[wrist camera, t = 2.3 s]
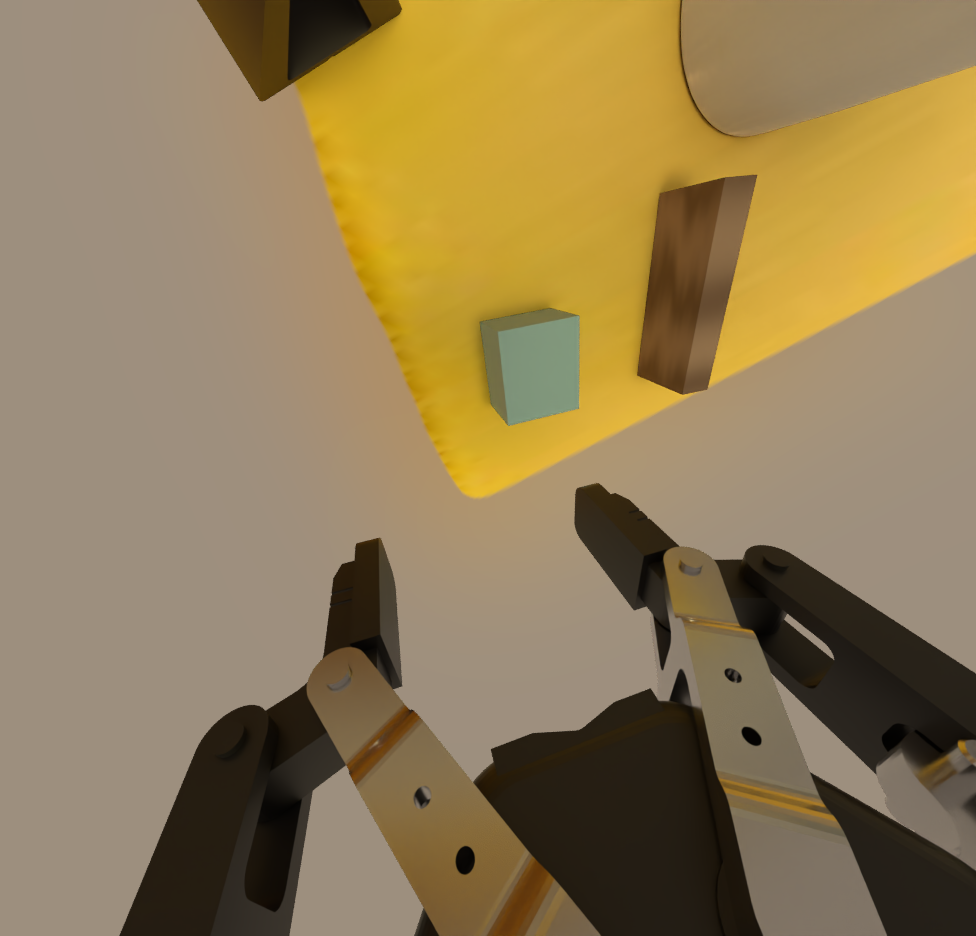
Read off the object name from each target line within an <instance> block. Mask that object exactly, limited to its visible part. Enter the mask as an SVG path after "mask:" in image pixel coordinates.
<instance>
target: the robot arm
mask: <svg viewBox="0 0 976 936" xmlns="http://www.w3.org/2000/svg"><path fill="white" fill-rule="evenodd" d="M575 528H576V531H577V534H578V536H579V538H580V539H581V540H582V542H583V543H584V544H585V546H586V547H587V548H588V550H589V551H590V552H591V554H592V555H593V556H594V558H595V559H596V560H597V562H598V563H599V564H600V566H601V567H602V568H603V570H604V571H605V572H606V574H607V575H608V576H609V578H610V579H611V580H612V582H613V583H614V584H615V586H616V587H617V588H618V590H619V591H620V592H621V594H622V595H623V596H624V598H625V599H626V600H627V602H628V603H629V604H630V606H631V607H632V608H633V610H637V609H640V608H643V607H646V606H647V607H648V609H649V610H650V611H651V617H650V622H651V630H652V637H653V646H654V653H655V661H656V668H657V677H658V690H657V698H656V696H655V695H654V693H653V691H652V690H651V689H648V690H645V691H642V692H640V693H638V694H635V695H632V696H629V697H627V698H624V699H621V700H619V701H616V702H614V703H613V704H611V705H610V706H609V707H608V708H606V709H605V710H604V711H603V712H602V713H600V714H599V715H598V716H597V717H596V718H594V719H593V720H592V721H591V722H590V723H588V724H587V725H586V726H585V727H583V728H582V729H580V730H577V731H562V732H545V733H532V734H529V735H527V736H524V737H522V738H519V739H516V740H514V741H511V742H509V743H506V744H503V745H501V746H498V747H495V748H493V749H491V752H492V757H493V761H494V762H493V763H492V764H491V765H489V766H488V767H487V768H486V769H485V770H484V771H483V772H482V773H481V774H480V775H479V776H478V777H477V778H476V779H475V780H474V782H472V781H471V780H470V778H469V777H468V776H467V774H466V773H465V772H464V771H463V770H462V768H461V767H460V766H459V765H458V763H457V762H456V761H455V760H454V758H453V757H452V756H451V755H450V753H449V752H448V751H447V750H446V748H445V747H444V746H443V745H442V743H441V742H440V741H439V740H438V739H437V737H436V736H435V735H434V734H433V732H432V731H431V730H430V729H429V727H428V726H427V725H426V724H425V722H424V721H423V720H422V719H421V718H420V716H418V714H417V713H416V712H415V711H413V710H409V709H408V708H407V706H406V705H405V704H404V703H403V702H402V700H401V699H400V698H399V696H398V695H397V694H396V693H395V691H394V690H393V689H395V688H398V687H401V686H402V676H401V661H400V646H399V632H398V617H397V603H396V588H395V582H394V577H393V573H392V569H391V566H390V563H389V561H388V558H387V555H386V552H385V549H384V546H383V543H382V540H381V538H376V539H373V540H368V541H364V542H360V543H357V544H356V548H355V561H352V562H348V563H345V564H342V565H341V567H340V568H339V570H338V572H337V573H336V575H335V577H334V578H333V587H332V596H331V603H330V606H331V608H330V609H329V618H328V625H327V633H326V641H325V649H324V655H323V659H322V660H321V661H320V662H319V663H318V664H317V665H316V667H315V668H314V669H313V671H312V673H311V674H310V677H309V679H308V682H307V683H306V684H305V685H304V686H303V687H302V688H300V689H299V690H298V691H296V692H295V693H293V694H292V695H290V696H288V697H287V698H285V699H284V700H282V701H280V702H279V703H277V704H276V705H274V706H273V707H271V708H269V709H268V710H266V711H265V710H264V709H263V708H261V707H260V706H256V705H247V706H243V707H240V708H237V709H235V710H233V711H231V712H230V713H228V714H226V715H225V716H224V717H222V718H221V719H220V720H219V721H218V722H217V723H215V724H214V725H213V726H212V727H211V729H210V730H209V731H208V732H207V733H206V735H205V736H204V737H203V739H202V740H201V742H200V744H199V745H198V747H197V749H196V752H195V754H194V756H193V759H192V761H191V764H190V766H189V769H188V771H187V773H186V776H185V778H184V781H183V783H182V786H181V788H180V790H179V793H178V795H177V798H176V800H175V802H174V805H173V807H172V810H171V812H170V815H169V817H168V819H167V822H166V824H165V827H164V829H163V831H162V834H161V836H160V839H159V841H158V844H157V846H156V849H155V851H154V853H153V856H152V858H151V861H150V863H149V865H148V868H147V870H146V873H145V875H144V878H143V880H142V883H141V885H140V887H139V890H138V892H137V895H136V897H135V899H134V902H133V904H132V907H131V909H130V911H129V914H128V916H127V919H126V922H125V924H124V926H123V929H122V931H121V933H120V936H289V933H290V928H291V922H292V916H293V909H294V903H295V897H296V891H297V885H298V878H299V872H300V865H301V860H302V854H303V847H304V841H305V835H306V829H307V822H308V816H309V810H310V804H311V798H312V791H313V790H314V789H315V788H316V787H318V786H319V785H320V784H322V783H323V782H324V781H326V780H327V779H328V778H330V777H331V776H332V775H333V774H335V773H336V772H338V771H339V770H340V769H341V768H343V767H344V766H345V765H346V766H347V768H348V769H349V772H350V773H349V774H350V776H351V778H352V780H353V782H354V784H355V786H356V788H357V790H358V791H359V793H360V795H361V797H362V799H363V800H364V802H365V804H366V806H367V807H368V809H369V811H370V813H371V815H372V816H373V818H374V820H375V822H376V823H377V825H378V827H379V829H380V830H381V832H382V834H383V836H384V838H385V840H386V841H387V843H388V845H389V847H390V848H391V850H392V852H393V854H394V856H395V857H396V859H397V861H398V863H399V864H400V866H401V868H402V869H403V871H404V873H405V875H406V877H407V879H408V881H409V882H410V884H411V886H412V888H413V890H414V891H415V893H416V895H417V897H418V899H419V900H420V902H421V904H422V905H423V907H424V908H423V911H422V914H421V917H420V920H419V923H418V926H417V929H416V932H415V935H414V936H976V674H975V673H974V672H973V671H971V670H969V669H968V668H966V667H965V666H963V665H962V664H960V663H959V662H957V661H956V660H954V659H952V658H951V657H949V656H948V655H946V654H945V653H943V652H942V651H940V650H939V649H937V648H936V647H934V646H932V645H931V644H929V643H928V642H926V641H925V640H923V639H922V638H920V637H919V636H917V635H916V634H914V633H912V632H911V631H909V630H908V629H906V628H905V627H903V626H901V625H900V624H899V623H897V622H895V621H894V620H892V619H891V618H889V617H888V616H886V615H885V614H883V613H882V612H880V611H878V610H877V609H876V608H874V607H872V606H871V605H869V604H868V603H866V602H865V601H863V600H862V599H860V598H859V597H857V596H856V595H854V594H852V593H851V592H849V591H848V590H846V589H845V588H843V587H842V586H840V585H839V584H837V583H835V582H834V581H832V580H831V579H829V578H828V577H826V576H825V575H823V574H822V573H820V572H819V571H817V570H815V569H814V568H812V567H810V566H809V565H808V564H806V563H805V562H803V561H802V560H800V559H799V558H797V557H795V556H794V555H792V554H791V553H789V552H786V551H785V550H782V549H779V548H776V547H772V546H766V545H758V546H753V547H750V548H749V549H747V551H746V552H745V555H744V558H743V560H713V559H712V558H711V557H710V556H709V555H707V554H705V553H704V552H701V551H700V550H697V549H694V548H690V547H680V546H679V545H677V544H676V543H675V542H674V541H673V540H672V539H671V538H670V537H669V536H668V535H667V534H666V533H664V532H663V531H662V530H661V529H660V528H659V527H658V526H657V525H656V524H655V523H654V522H652V520H650V519H648V518H647V516H646V515H645V514H644V513H643V512H642V511H639V508H637V507H636V506H635V505H634V504H633V503H632V502H631V501H630V500H629V499H626V498H624V497H622V496H620V495H618V494H616V493H614V494H610V493H609V492H608V491H607V490H606V489H605V488H604V487H602V485H600V484H599V483H596V484H591V485H588V486H584V487H580V488H577V490H576V494H575ZM787 614H789V615H790V616H791V617H793V618H794V619H795V620H796V621H798V622H799V623H800V624H801V625H803V626H804V627H805V628H806V629H808V630H809V631H810V632H811V633H813V634H814V635H815V636H816V637H818V638H819V639H820V640H822V641H823V642H824V643H825V644H826V645H827V646H828V647H829V649H830V650H831V651H832V653H833V655H834V660H833V659H832V658H830V657H829V656H828V655H827V654H826V653H824V652H823V651H822V650H821V649H819V648H818V647H817V646H816V645H814V644H813V643H812V642H811V641H810V640H808V639H807V638H806V637H805V636H803V635H802V634H801V633H799V632H798V631H797V630H796V629H795V628H794V627H792V626H791V625H790V624H789V623H787V622H786V621H785V620H784V618H785V617H786V615H787ZM771 673H772V674H773V675H774V676H775V677H776V678H777V679H778V680H779V681H780V682H781V683H782V684H783V685H784V686H785V687H786V688H787V689H788V690H789V691H790V692H791V693H792V694H793V695H795V697H796V698H798V699H799V700H800V701H801V702H802V703H803V704H804V705H805V706H806V707H807V708H808V709H809V710H810V711H811V712H812V713H813V714H814V715H815V716H816V717H817V718H818V719H819V720H820V721H821V722H822V723H823V724H825V725H826V726H827V727H828V728H829V729H830V730H831V731H832V732H833V733H834V734H835V735H836V736H837V737H838V738H839V739H840V740H841V741H842V742H843V743H844V744H845V745H846V746H848V748H849V749H850V750H852V751H853V752H854V753H855V754H856V755H857V756H858V757H859V758H860V759H861V760H862V761H863V762H864V763H865V764H866V765H867V766H868V767H869V768H870V769H871V770H872V771H873V772H874V773H875V774H876V775H877V777H878V781H879V783H880V785H881V787H882V789H883V791H884V793H885V794H886V797H885V803H886V806H887V808H888V809H889V811H890V813H891V814H892V815H893V816H894V817H895V818H896V819H897V820H898V821H899V822H900V823H902V824H903V825H904V826H906V827H908V828H910V829H912V830H914V831H915V832H913V831H911V830H910V829H908V828H906V827H904V826H903V825H901V824H899V823H898V822H896V821H894V820H892V819H890V818H889V817H887V816H885V815H884V814H882V813H880V812H878V811H877V810H875V809H873V808H872V807H870V806H868V805H866V804H864V803H863V802H861V801H859V800H858V799H856V798H854V797H852V796H851V795H849V794H847V793H845V792H843V791H842V790H840V789H838V788H837V787H835V786H833V785H832V784H830V783H828V782H826V781H825V780H823V779H821V778H819V777H818V776H816V775H814V774H812V773H811V772H810V771H809V769H808V766H807V764H806V761H805V759H804V756H803V754H802V751H801V749H800V746H799V743H798V741H797V738H796V736H795V733H794V731H793V728H792V726H791V723H790V721H789V718H788V715H787V713H786V710H785V708H784V705H783V703H782V700H781V697H780V695H779V693H778V690H777V688H776V685H775V682H774V680H773V677H772V675H771Z"/></svg>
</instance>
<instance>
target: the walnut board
mask: <svg viewBox="0 0 976 936" xmlns="http://www.w3.org/2000/svg"><path fill="white" fill-rule="evenodd" d="M756 178H757V175H748V176H737V177H725V178H721V179H717V180H713V181H709V182H704V183H700V184H696V185H692V186H688V187H684V188H680V189H676V190H671V191H667V192H663V193H660V197H659V205H658V213H657V221H656V229H655V237H654V245H653V253H652V261H651V269H650V277H649V285H648V293H647V302H646V310H645V318H644V326H643V334H642V342H641V350H640V358H639V366H638V374H637V375H638V376H640V377H642V378H645V379H647V380H649V381H652V382H654V383H656V384H659V385H661V386H663V387H666V388H668V389H670V390H673V391H675V392H677V393H680V394H682V395H684V394H688V393H693V392H698V391H703V390H707V388H708V384H709V380H710V376H711V371H712V367H713V363H714V358H715V354H716V350H717V346H718V341H719V337H720V333H721V328H722V324H723V320H724V315H725V311H726V307H727V303H728V298H729V294H730V290H731V285H732V281H733V277H734V273H735V268H736V264H737V260H738V255H739V251H740V247H741V242H742V238H743V234H744V230H745V225H746V221H747V217H748V212H749V208H750V204H751V200H752V195H753V191H754V187H755V182H756Z"/></svg>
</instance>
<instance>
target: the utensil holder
mask: <svg viewBox="0 0 976 936" xmlns="http://www.w3.org/2000/svg"><path fill="white" fill-rule="evenodd" d="M681 46H682V58H683V64H684V70H685V74H686V78H687V82H688V86H689V89H690V92H691V95H692V97H693V99H694V101H695V103H696V105H697V107H698V109H699V110H700V112H701V113H702V115H703V116H704V117H705V118H706V119H707V120H708V121H709V123H710V124H711V125H713V126H714V127H715V128H716V129H718V130H720V131H721V132H723V133H726V134H729V135H733V136H740V137H745V136H753V135H758V134H762V133H766V132H770V131H773V130H776V129H780V128H783V127H786V126H790V125H793V124H797V123H800V122H804V121H807V120H811V119H814V118H817V117H821V116H824V115H827V114H831V113H834V112H837V111H840V110H844V109H847V108H850V107H853V106H856V105H859V104H862V103H865V102H868V101H871V100H874V99H876V98H879V97H882V96H885V95H888V94H891V93H894V92H897V91H900V90H903V89H906V88H909V87H912V86H915V85H918V84H921V83H924V82H927V81H930V80H933V79H937V78H940V77H943V76H946V75H949V74H952V73H955V72H958V71H961V70H964V69H967V68H970V67H973V66H975V65H976V0H682V10H681Z"/></svg>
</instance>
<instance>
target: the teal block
mask: <svg viewBox="0 0 976 936" xmlns="http://www.w3.org/2000/svg"><path fill="white" fill-rule="evenodd" d="M480 327H481V334H482V342H483V349H484V356H485V364H486V371H487V378H488V386H489V393H490V400H491V405H492V407H493V408H494V409H495V410H496V411H497V413H498V414H499V415H500V416H501V417H502V419H503V420H504V421H505V422H506V424H507V425H508V426H510V425H514V424H518V423H522V422H526V421H530V420H534V419H538V418H542V417H546V416H550V415H555V414H559V413H563V412H567V411H571V410H575V409H579V315H575V314H571V313H567V312H564V311H560V310H556V309H552V308H548V309H543V310H538V311H533V312H528V313H522V314H517V315H512V316H507V317H502V318H496V319H491V320H486V321H481V322H480Z"/></svg>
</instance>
